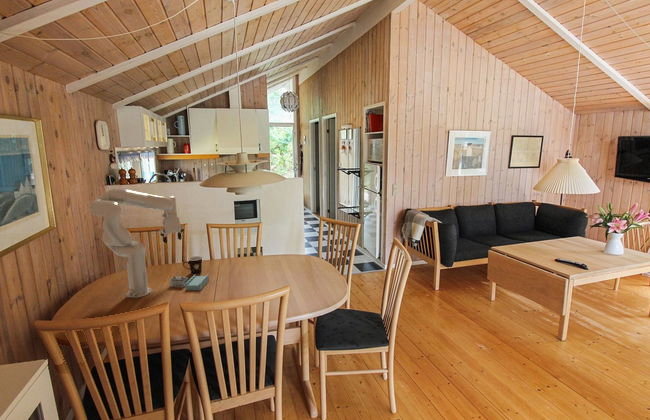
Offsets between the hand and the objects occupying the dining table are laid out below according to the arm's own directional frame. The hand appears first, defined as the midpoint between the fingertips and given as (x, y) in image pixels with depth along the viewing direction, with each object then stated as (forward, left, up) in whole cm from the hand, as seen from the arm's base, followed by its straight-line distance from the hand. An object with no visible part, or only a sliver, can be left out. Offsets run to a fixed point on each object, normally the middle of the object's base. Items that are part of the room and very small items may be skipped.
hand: (172, 240), depth 233 cm
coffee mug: (+4, -11, -23) cm, 26 cm away
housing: (-16, -9, -23) cm, 30 cm away
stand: (-16, -21, -23) cm, 35 cm away
